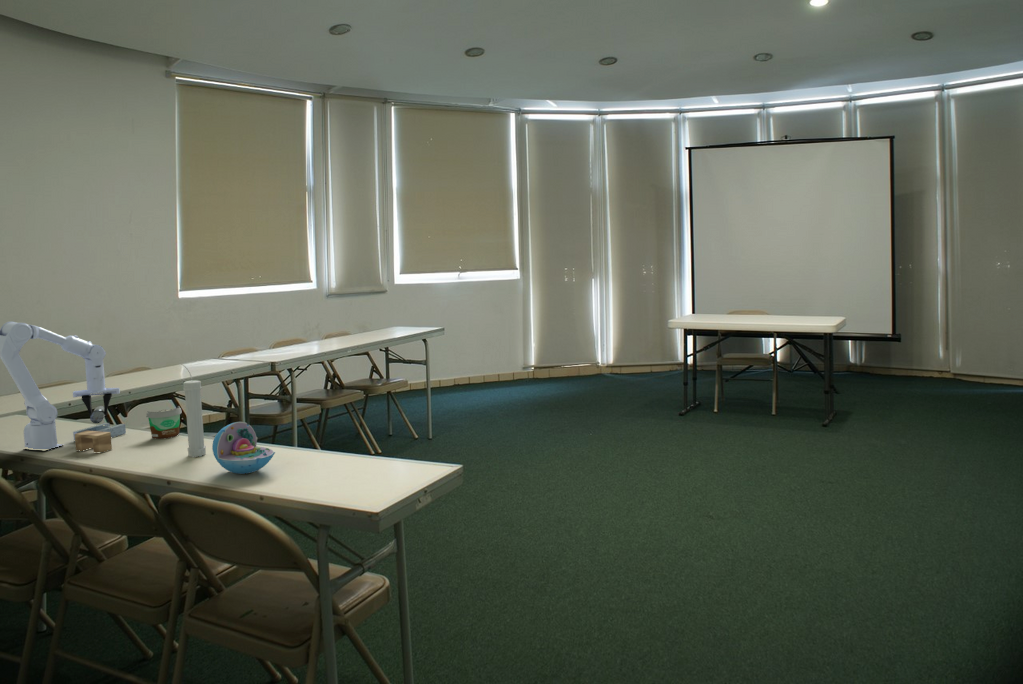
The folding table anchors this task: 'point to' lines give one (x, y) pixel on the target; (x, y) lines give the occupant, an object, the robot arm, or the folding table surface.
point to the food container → (164, 423)
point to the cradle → (105, 429)
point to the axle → (97, 414)
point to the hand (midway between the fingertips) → (98, 415)
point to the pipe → (194, 417)
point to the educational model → (240, 449)
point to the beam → (93, 441)
